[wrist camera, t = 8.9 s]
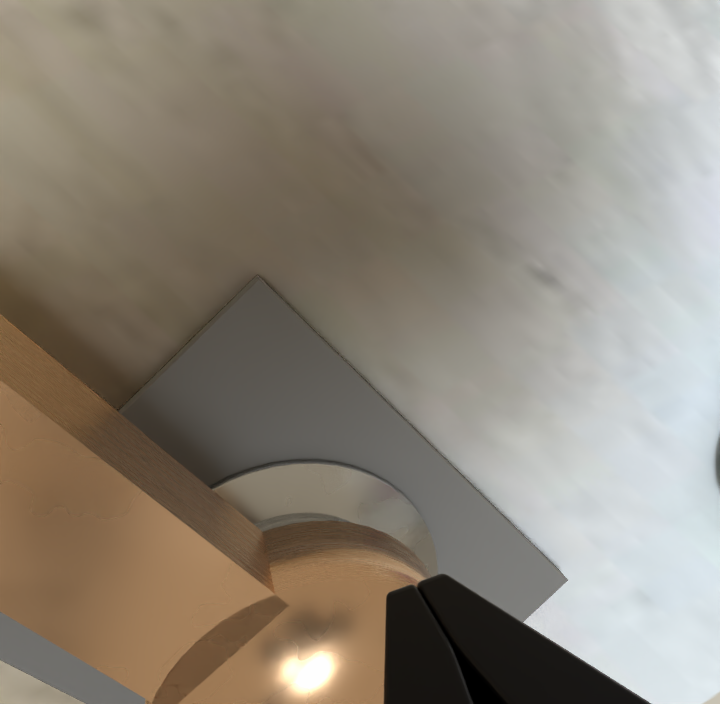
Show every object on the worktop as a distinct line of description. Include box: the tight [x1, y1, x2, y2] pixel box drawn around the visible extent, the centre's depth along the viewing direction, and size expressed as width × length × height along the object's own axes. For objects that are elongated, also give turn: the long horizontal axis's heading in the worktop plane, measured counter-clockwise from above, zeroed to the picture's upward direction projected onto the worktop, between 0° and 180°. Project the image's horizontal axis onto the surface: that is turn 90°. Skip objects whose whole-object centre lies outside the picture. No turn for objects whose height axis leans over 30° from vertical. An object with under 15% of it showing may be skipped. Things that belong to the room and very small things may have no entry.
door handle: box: [0, 314, 432, 704], centre depth 16 cm, size 18×9×3 cm, turn 39°
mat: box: [0, 275, 568, 704], centre depth 21 cm, size 14×17×1 cm
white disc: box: [208, 459, 438, 577], centre depth 20 cm, size 10×10×2 cm
